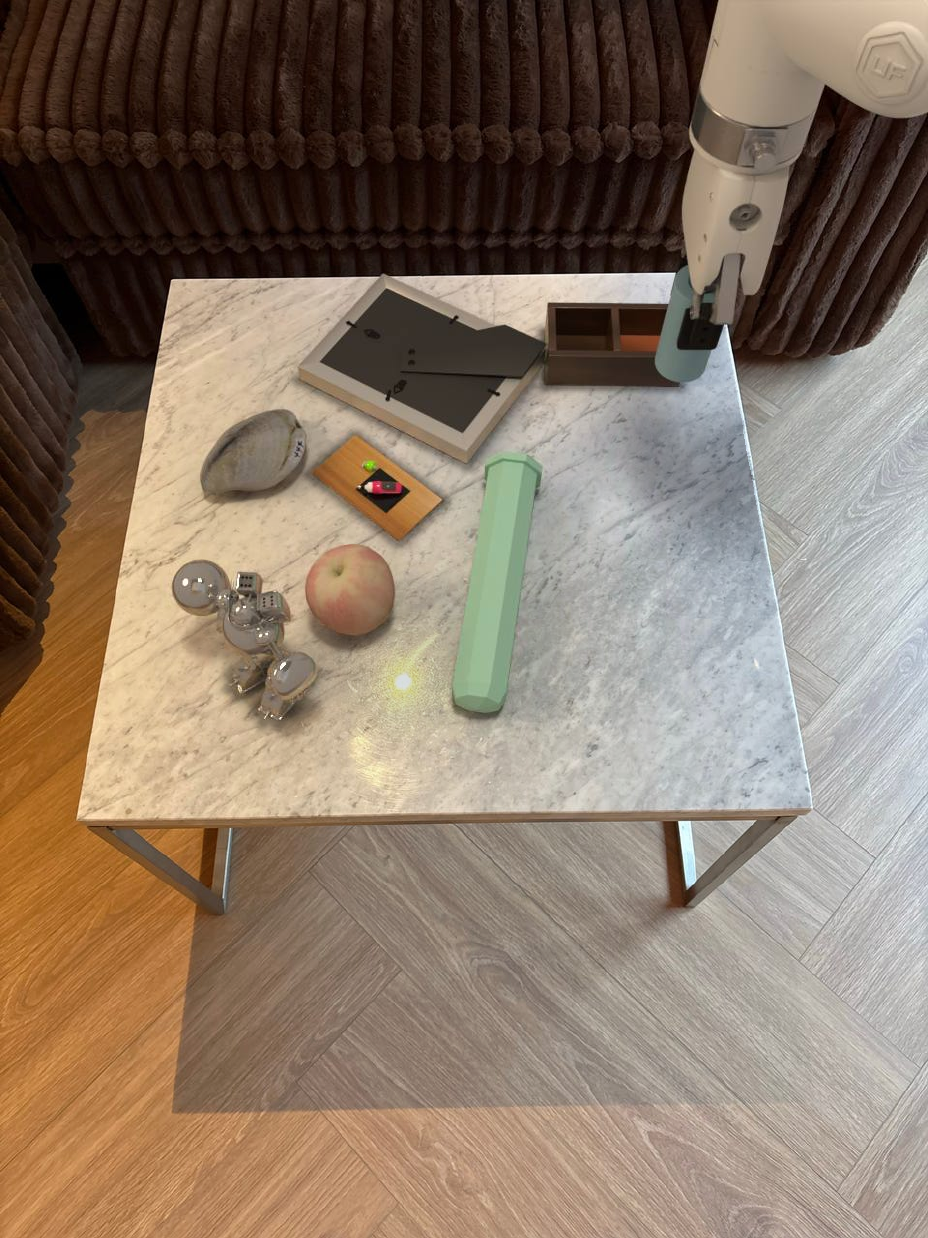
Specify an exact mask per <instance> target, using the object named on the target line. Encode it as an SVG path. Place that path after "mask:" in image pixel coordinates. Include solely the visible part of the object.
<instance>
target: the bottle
mask: <svg viewBox="0 0 928 1238" xmlns="http://www.w3.org/2000/svg"><path fill="white" fill-rule="evenodd" d="M674 278H675V281H674V280H673V282H674V285H673V284H672V286H673V289H672V288H671V290H672V293H671V292H670V294H671V296H670V297H669V301H668V304H669V305H668V309H667V312H666V316H665V320H664V324H663V328H662V332H661V336H660V340H659V344H658V348H657V352H656V356H655V365H656V368H657V370H658V371H659V373H660V374H661V375H662V376H664V377H665V378H667V379H669V380H671V381H675V382H680V383H682V384H683V383H690V382H694V381H696V380H697V379H699V378H701V377H702V375H704V373H705V371H706V369H707V365H708V362H709V359H710V356H711V352H712V350H679V349H678V348H677V338H678V335H679V331H680V327H681V324H682V320H683V316H684V313H685V309H686V308H691V303H692V298H693V293H694V289H693V287H692V284H691V279H690V272H689V266H688V265H687V266H685V267H683V268H682V269H681V270H679V272H678V273H677V275H676V277H675V276H674ZM715 294H716V291H706V292H704V297H703V302H702V303H714V301H715Z"/></svg>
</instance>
